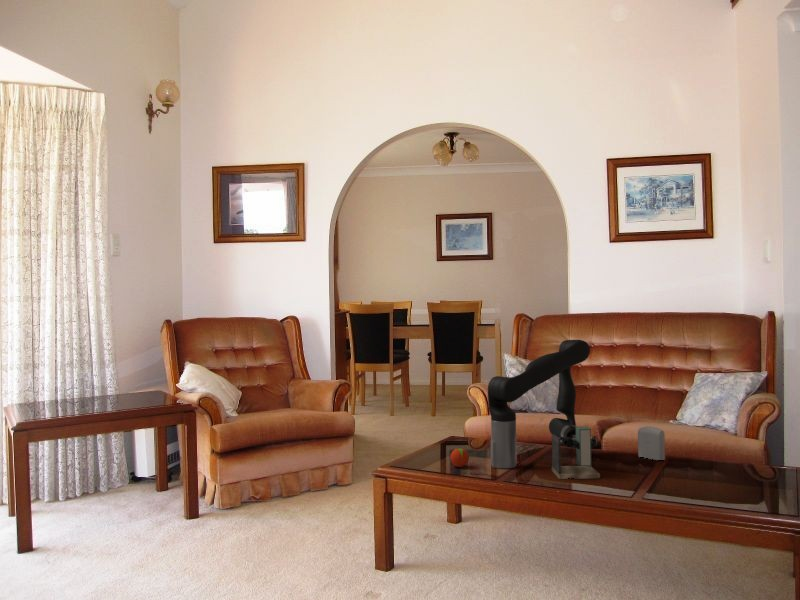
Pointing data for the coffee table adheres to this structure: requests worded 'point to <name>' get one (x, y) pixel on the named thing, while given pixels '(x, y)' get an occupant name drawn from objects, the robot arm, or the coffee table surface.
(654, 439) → the photo printer
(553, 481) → the coffee table surface
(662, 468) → the coffee table surface
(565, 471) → the desktop book rack
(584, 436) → the tall sage green prism
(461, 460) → the tomato
